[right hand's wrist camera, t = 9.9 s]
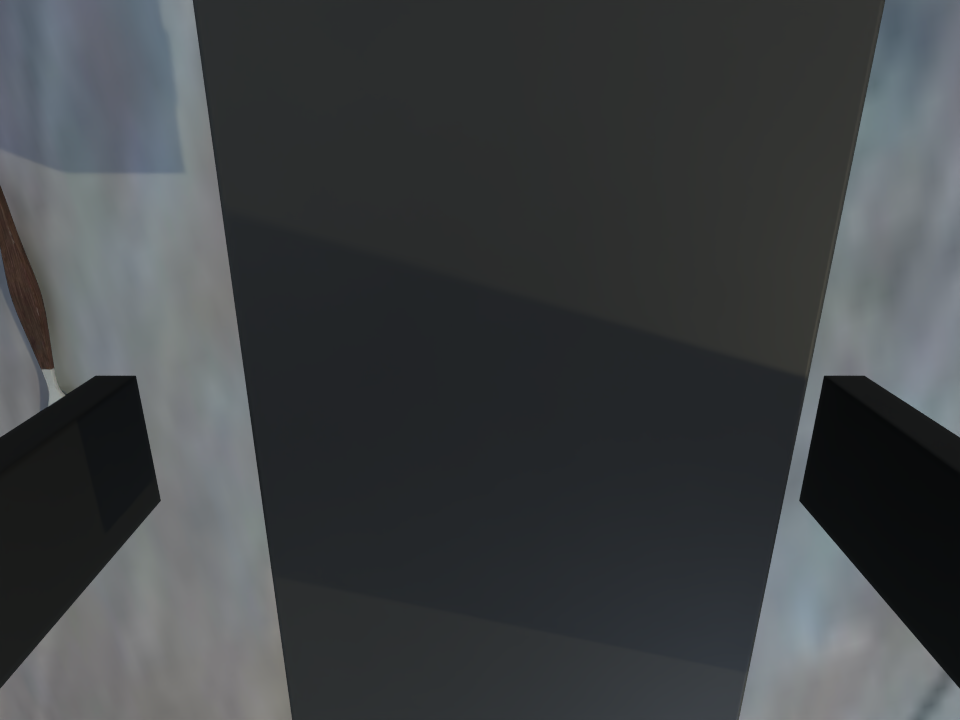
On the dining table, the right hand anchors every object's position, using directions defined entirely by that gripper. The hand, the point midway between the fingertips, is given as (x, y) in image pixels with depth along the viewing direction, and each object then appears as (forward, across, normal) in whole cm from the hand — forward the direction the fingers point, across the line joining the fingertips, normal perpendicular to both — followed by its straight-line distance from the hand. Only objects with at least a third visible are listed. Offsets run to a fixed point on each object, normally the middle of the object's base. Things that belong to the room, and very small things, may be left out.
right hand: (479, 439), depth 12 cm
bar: (+3, -1, -9) cm, 10 cm away
